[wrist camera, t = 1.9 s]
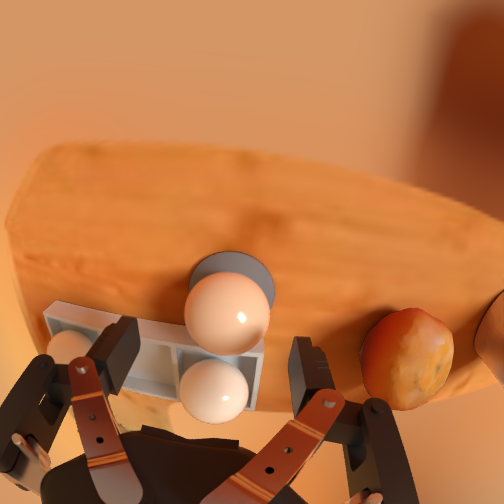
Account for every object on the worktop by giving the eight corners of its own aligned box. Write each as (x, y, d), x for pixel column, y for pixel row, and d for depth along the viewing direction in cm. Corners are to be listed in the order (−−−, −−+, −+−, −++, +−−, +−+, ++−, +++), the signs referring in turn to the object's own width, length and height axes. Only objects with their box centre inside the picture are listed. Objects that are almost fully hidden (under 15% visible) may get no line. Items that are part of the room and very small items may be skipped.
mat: (279, 255, 18) (280, 257, 18) (269, 329, 20) (269, 332, 20) (190, 247, 18) (188, 249, 18) (190, 321, 20) (189, 324, 20)
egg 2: (252, 348, 20) (250, 400, 15) (247, 391, 22) (244, 439, 17) (185, 340, 20) (167, 389, 15) (188, 384, 22) (176, 430, 17)
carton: (263, 334, 20) (264, 353, 18) (255, 392, 23) (254, 411, 21) (56, 299, 20) (42, 311, 18) (73, 356, 23) (63, 369, 21)
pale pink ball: (273, 262, 18) (277, 303, 13) (264, 327, 20) (265, 377, 15) (194, 255, 18) (171, 292, 13) (194, 320, 20) (177, 367, 15)
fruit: (319, 374, 20) (385, 409, 12) (364, 292, 22) (438, 294, 14) (374, 402, 21) (434, 429, 14) (410, 331, 23) (474, 340, 16)
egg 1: (103, 325, 20) (73, 363, 15) (114, 368, 22) (92, 407, 17) (59, 313, 20) (28, 345, 15) (72, 356, 22) (48, 388, 17)
